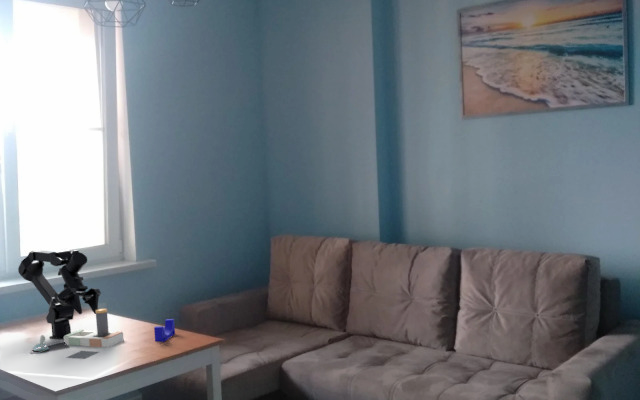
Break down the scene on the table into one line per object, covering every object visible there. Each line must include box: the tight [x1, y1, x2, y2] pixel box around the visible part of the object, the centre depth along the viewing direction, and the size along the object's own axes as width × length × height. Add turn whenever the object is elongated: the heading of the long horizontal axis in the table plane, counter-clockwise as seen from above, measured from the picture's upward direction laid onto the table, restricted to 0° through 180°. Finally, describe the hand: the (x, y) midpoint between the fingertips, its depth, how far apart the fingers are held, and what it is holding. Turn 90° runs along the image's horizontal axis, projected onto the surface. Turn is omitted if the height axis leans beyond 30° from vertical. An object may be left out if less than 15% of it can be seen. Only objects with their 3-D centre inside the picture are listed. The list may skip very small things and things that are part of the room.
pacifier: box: [30, 334, 50, 355], centre depth 244 cm, size 7×6×6 cm
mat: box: [65, 350, 100, 360], centre depth 236 cm, size 8×8×1 cm
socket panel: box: [63, 329, 125, 348], centre depth 252 cm, size 20×9×4 cm, turn 70°
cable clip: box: [153, 318, 176, 344], centre depth 254 cm, size 12×4×6 cm, turn 171°
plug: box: [95, 308, 110, 337], centre depth 250 cm, size 4×4×13 cm
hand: (88, 313), depth 252 cm, fingers open, 9 cm apart
